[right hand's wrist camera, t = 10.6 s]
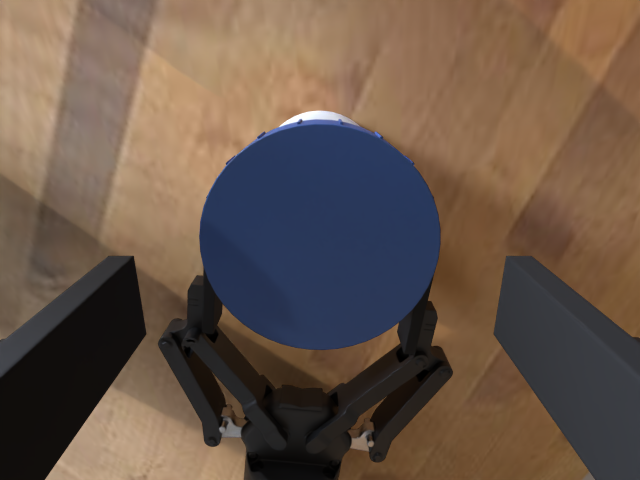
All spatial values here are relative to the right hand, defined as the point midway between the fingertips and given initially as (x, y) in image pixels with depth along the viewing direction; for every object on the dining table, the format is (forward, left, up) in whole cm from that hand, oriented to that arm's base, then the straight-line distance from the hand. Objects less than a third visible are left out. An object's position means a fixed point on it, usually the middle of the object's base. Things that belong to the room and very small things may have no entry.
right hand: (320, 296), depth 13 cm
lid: (0, 0, -4) cm, 4 cm away
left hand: (+2, -3, -14) cm, 14 cm away
